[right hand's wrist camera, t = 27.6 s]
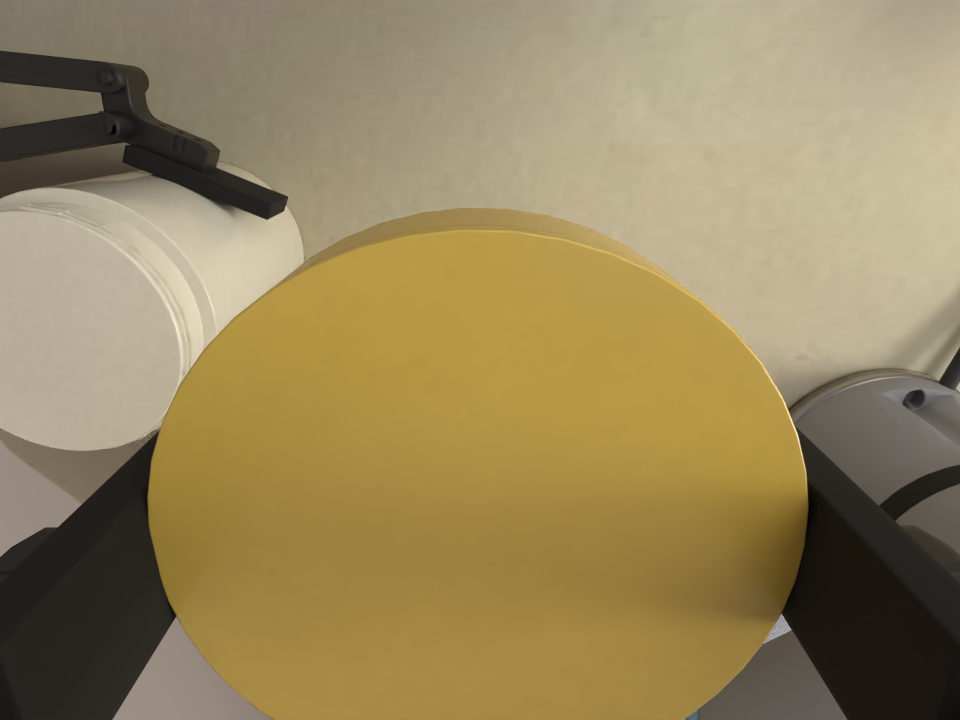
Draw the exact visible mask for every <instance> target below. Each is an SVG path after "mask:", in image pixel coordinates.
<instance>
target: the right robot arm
mask: <svg viewBox="0 0 960 720" xmlns="http://www.w3.org/2000/svg"><path fill="white" fill-rule="evenodd" d="M959 382H960V348H959V350H958V351H957V353H956V355H955V356H954V358H953V359H952V361H951V363H950V364H949V366H948V368H947V369H946V371H945V373H944V374H943V376H942V377H941V379H940V381H939V380H937V379H936V378H933V377H931V376H928V375H926V374H922V373H919V372H915V371H909V370H900V369H880V370H872V371H866V372H861V373H857V374H853V375H850V376H847V377H844V378H841V379H839V380H836V381H834V382H831V383H829V384H827V385H825V386H823V387H821V388H820V389H818V390H816V391H814V392H813V393H811V394H810V395H808V396H807V397H805V398H804V399H802V400H801V401H800V402H799V403H797V404H796V405H795V406H794V407H793V408H792V409H790V410H789V413H790V416H791V418H792V421H793V423H794V426H795V428H796V431H797V433H798V437H799V441H800V446H801V450H802V455H803V459H804V464H805V468H806V474H807V492H808V509H809V510H808V520H807V530H806V540H805V547H804V551H803V555H802V559H801V562H800V566H799V570H798V574H797V578H796V581H795V583H794V586H793V588H792V590H791V593H790V595H789V597H788V600H787V602H786V604H785V607H784V609H783V611H782V615H783V616H784V618H785V620H786V621H787V623H788V625H789V626H790V628H791V629H792V631H790V632H787V633H785V634H783V635H781V636H779V637H777V638H775V639H773V640H771V641H769V642H767V643H765V644H762V645H761V647H760V648H759V649H758V650H757V652H756V653H755V654H754V655H753V657H752V658H751V659H750V661H749V662H748V663H747V664H746V666H745V667H744V668H743V669H742V670H741V671H740V672H739V673H738V674H737V675H736V676H735V677H734V678H733V679H732V680H731V681H730V682H729V683H728V684H727V685H726V686H725V687H724V688H723V689H722V690H721V691H720V692H719V693H718V694H717V695H715V696H714V697H713V698H712V699H710V700H709V701H708V702H706V703H705V704H704V705H703V706H701V707H700V708H699V709H697V710H696V711H695V712H694V713H692V714H691V715H690V716H688V717H687V718H685V719H683V720H960V392H958V391H957V390H955V389H956V387H957V385H958V384H959ZM158 435H159V432H158V433H156V434H155V435H154V436H153V437H152V438H151V439H150V440H149V441H148V442H147V443H146V444H145V445H144V446H143V447H142V448H141V449H140V450H139V451H138V452H137V453H136V454H134V455H133V456H132V457H131V458H130V459H129V460H128V461H127V462H126V463H125V464H124V465H123V466H122V467H121V468H120V469H119V470H118V471H117V472H116V473H115V474H113V475H112V476H111V477H110V478H109V479H108V480H107V481H106V482H105V483H104V484H103V485H102V486H101V487H100V488H99V489H98V490H97V491H96V492H95V493H94V494H93V495H91V496H90V497H89V498H88V499H87V500H86V501H85V502H84V503H83V504H82V505H81V506H80V507H79V508H78V509H77V510H76V511H75V512H74V513H73V514H72V515H70V516H69V517H68V518H67V519H66V520H65V521H64V522H63V523H62V524H61V525H60V526H59V527H58V528H44V529H42V530H41V531H39V532H37V533H35V534H34V535H32V536H30V537H28V538H27V539H25V540H23V541H21V542H20V543H18V544H16V545H14V546H13V547H11V548H10V549H9V550H8V551H7V552H6V553H5V554H3V555H2V556H1V557H0V720H112V719H113V718H114V716H115V714H116V713H117V711H118V710H119V708H120V706H121V705H122V703H123V701H124V700H125V698H126V697H127V695H128V693H129V692H130V690H131V689H132V687H133V685H134V684H135V682H136V680H137V679H138V677H139V676H140V674H141V672H142V671H143V669H144V668H145V666H146V664H147V663H148V661H149V659H150V658H151V656H152V655H153V653H154V651H155V650H156V648H157V647H158V645H159V643H160V642H161V640H162V638H163V637H164V635H165V634H166V632H167V630H168V629H169V627H170V625H171V624H172V622H173V621H174V619H175V617H176V614H175V613H174V611H173V609H172V607H171V605H170V603H169V601H168V599H167V596H166V593H165V591H164V587H163V583H162V580H161V576H160V572H159V567H158V563H157V559H156V555H155V550H154V546H153V542H152V538H151V533H150V528H149V522H148V502H147V496H148V487H149V478H150V469H151V460H152V456H153V452H154V449H155V445H156V442H157V438H158Z"/></svg>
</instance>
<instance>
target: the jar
mask: <svg viewBox="0 0 960 720" xmlns="http://www.w3.org/2000/svg"><path fill="white" fill-rule="evenodd" d="M216 168H219V169H221V170H224V171H226V172H229V173H231V174H233V175H236V176H238V177H241V178H243V179H246V180H248V181H251V182H253V183H256V184H258V185H260V186H263V187H265V188H268V189H270V190H272V189H271V188H270V187H269V186H268V185H267V184H265V183H264V182H263V181H262V180H260V179H259V178H257V177H256V176H254V175H253V174H251V173H249V172H247V171H245V170H243V169H241V168H238V167H236V166H233V165H230V164H226V163H222V162H217V166H216ZM303 263H304V251H303V244H302V239H301V236H300V232H299V229H298V227H297V224H296V222H295V219H294V218H293V216H292V214H291V212H290V211H289V209H288V207H287V206H286V207H285V210H284V212H282V213H280V214H278V215H276V216H274V217H272V218H270V219H268V220H266V219H263V218H261V217H258V216H256V215H253V214H251V213H248V212H246V211H243V210H241V209H238V208H236V207H233V206H231V205H228V204H226V203H223V202H221V201H218V200H216V199H213V198H211V197H208V196H206V195H203V194H201V193H198V192H196V191H193V190H191V189H188V188H186V187H183V186H181V185H178V184H176V183H173V182H171V181H168V180H166V179H163V178H161V177H158V176H156V175H153V174H151V173H148V172H146V171H143V170H138V171H133V172H127V173H121V174H116V175H110V176H104V177H98V178H93V179H87V180H81V181H76V182H70V183H64V184H58V185H53V186H47V187H41V188H36V189H30V190H24V191H19V192H16V193H13V194H10V195H7V196H4V197H2V198H0V428H1V429H3V430H5V431H6V432H8V433H10V434H12V435H14V436H17V437H19V438H22V439H24V440H27V441H29V442H32V443H35V444H39V445H42V446H46V447H50V448H56V449H61V450H72V451H94V450H101V449H108V448H116V447H119V446H122V445H125V444H127V443H130V442H133V441H136V440H138V439H142V438H143V437H144V436H146V435H147V434H148V433H150V432H151V431H153V430H156V429H158V428H160V427H161V424H162V421H163V419H164V417H165V415H166V412H167V410H168V408H169V406H170V404H171V402H172V400H173V398H174V395H175V393H176V391H177V389H178V387H179V385H180V383H181V382H182V381H183V379H184V378H185V376H186V375H187V373H188V372H189V370H190V369H191V367H192V366H193V364H194V363H195V361H196V360H197V358H198V357H199V356H200V354H201V353H202V351H203V350H204V349H205V348H206V347H207V346H208V345H209V343H210V342H211V341H212V340H213V339H214V338H215V337H216V336H217V335H218V334H219V333H220V332H221V331H222V330H223V329H224V328H225V326H226V325H227V324H228V323H229V322H230V321H231V320H232V319H233V318H234V317H235V316H237V315H238V314H239V313H240V312H242V311H243V310H244V309H246V308H247V307H248V306H249V305H251V304H252V303H253V302H254V301H256V300H257V299H258V298H260V297H261V296H262V295H263V294H265V293H266V292H267V291H268V290H270V289H271V288H272V287H274V286H275V285H276V284H277V283H279V282H280V281H281V280H282V279H284V278H285V277H286V276H288V275H289V274H290V273H291V272H293V271H294V270H295V269H297V268H298V267H299V266H300V265H302V264H303Z"/></svg>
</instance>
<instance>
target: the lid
mask: <svg viewBox="0 0 960 720" xmlns="http://www.w3.org/2000/svg"><path fill="white" fill-rule="evenodd" d="M147 502H148V522H149V528H150V533H151V538H152V542H153V546H154V550H155V555H156V559H157V563H158V567H159V572H160V576H161V580H162V583H163V587H164V591H165V593H166V596H167V599H168V601H169V603H170V605H171V607H172V609H173V611H174V613H175V614H176V616H177V618H178V620H179V622H180V624H181V625H182V627H183V629H184V631H185V633H186V634H187V635H188V637H189V638H190V640H191V641H192V642H193V644H194V645H195V646H196V648H197V649H198V651H199V652H200V653H201V655H202V656H203V657H204V659H205V660H206V661H207V662H208V663H209V665H210V666H211V667H212V668H213V669H214V670H215V671H216V672H217V673H218V674H219V675H220V676H221V677H222V678H223V679H224V680H225V681H226V683H227V684H228V685H229V686H230V687H232V688H233V689H234V690H235V691H236V692H237V693H239V694H240V695H241V696H242V697H243V698H245V699H246V700H247V701H248V702H249V703H251V704H252V705H253V706H254V707H255V708H257V709H258V710H259V711H261V712H262V713H264V714H265V715H267V716H268V717H270V718H271V719H273V720H683V719H685V718H687V717H688V716H690V715H691V714H692V713H694V712H695V711H696V710H697V709H699V708H700V707H701V706H703V705H704V704H705V703H706V702H708V701H709V700H710V699H712V698H713V697H714V696H715V695H717V694H718V693H719V692H720V691H721V690H722V689H723V688H724V687H725V686H726V685H727V684H728V683H729V682H730V681H731V680H732V679H733V678H734V677H735V676H736V675H737V674H738V673H739V672H740V671H741V670H742V669H743V668H744V667H745V666H746V664H747V663H748V662H749V661H750V659H751V658H752V657H753V655H754V654H755V653H756V652H757V650H758V649H759V648H760V647H761V645H762V644H763V643H764V642H765V640H766V638H767V637H768V635H769V633H770V632H771V630H772V628H773V627H774V625H775V623H776V622H777V620H778V618H779V617H780V615H781V613H782V611H783V609H784V607H785V604H786V602H787V600H788V597H789V595H790V593H791V590H792V588H793V586H794V583H795V581H796V578H797V574H798V570H799V566H800V562H801V559H802V555H803V551H804V547H805V540H806V530H807V520H808V510H809V509H808V492H807V474H806V468H805V464H804V459H803V455H802V450H801V446H800V441H799V437H798V433H797V431H796V428H795V426H794V423H793V421H792V418H791V416H790V413H789V411H788V409H787V406H786V404H785V401H784V399H783V397H782V395H781V393H780V392H779V390H778V388H777V387H776V385H775V383H774V382H773V380H772V378H771V377H770V375H769V373H768V372H767V370H766V369H765V367H764V365H763V364H762V362H761V361H760V360H759V358H758V357H757V356H756V355H755V354H754V352H753V351H752V350H751V349H750V348H749V347H748V345H747V344H746V343H745V342H744V341H743V339H742V338H741V337H740V336H739V335H738V334H737V332H736V331H735V330H734V329H733V328H732V327H731V326H730V325H729V324H727V323H726V322H725V321H724V320H723V319H722V318H721V317H719V316H718V315H717V314H716V313H715V312H714V311H712V310H711V309H710V308H709V307H708V306H707V305H706V304H704V303H703V302H702V301H701V300H700V299H699V298H697V297H696V296H695V295H694V294H692V293H691V292H690V291H689V290H687V289H686V288H685V287H683V286H682V285H681V284H680V283H678V282H677V281H676V280H675V279H673V278H672V277H671V276H670V275H668V274H667V273H666V272H664V271H663V270H662V269H661V268H659V267H658V266H657V265H655V264H654V263H652V262H651V261H649V260H648V259H646V258H644V257H643V256H641V255H640V254H638V253H637V252H635V251H634V250H632V249H630V248H629V247H627V246H626V245H624V244H622V243H620V242H618V241H616V240H613V239H611V238H609V237H607V236H605V235H603V234H600V233H598V232H596V231H594V230H592V229H589V228H587V227H584V226H581V225H577V224H574V223H571V222H567V221H564V220H561V219H557V218H554V217H551V216H547V215H541V214H535V213H528V212H522V211H516V210H509V209H485V208H460V209H451V210H442V211H433V212H424V213H419V214H415V215H411V216H407V217H403V218H399V219H395V220H391V221H387V222H383V223H380V224H378V225H376V226H373V227H371V228H368V229H366V230H363V231H361V232H358V233H356V234H353V235H351V236H348V237H346V238H344V239H342V240H340V241H338V242H337V243H335V244H333V245H331V246H330V247H328V248H326V249H325V250H323V251H321V252H319V253H318V254H316V255H314V256H312V257H311V258H309V259H308V260H307V261H305V262H304V263H303V264H302V265H300V266H299V267H298V268H297V269H295V270H294V271H293V272H291V273H290V274H289V275H288V276H286V277H285V278H284V279H282V280H281V281H280V282H279V283H277V284H276V285H275V286H274V287H272V288H271V289H270V290H268V291H267V292H266V293H265V294H263V295H262V296H261V297H260V298H258V299H257V300H256V301H254V302H253V303H252V304H251V305H249V306H248V307H247V308H246V309H244V310H243V311H242V312H240V313H239V314H238V315H237V316H235V317H234V318H233V319H232V320H231V321H230V322H229V323H228V324H227V325H226V326H225V328H224V329H223V330H222V331H221V332H220V333H219V334H218V335H217V336H216V337H215V338H214V339H213V340H212V341H211V342H210V343H209V345H208V346H207V347H206V348H205V349H204V350H203V351H202V353H201V354H200V356H199V357H198V358H197V360H196V361H195V363H194V364H193V366H192V367H191V369H190V370H189V372H188V373H187V375H186V376H185V378H184V379H183V381H182V382H181V383H180V385H179V387H178V389H177V391H176V393H175V395H174V398H173V400H172V402H171V404H170V406H169V408H168V410H167V412H166V415H165V417H164V419H163V421H162V424H161V428H160V431H159V435H158V438H157V442H156V445H155V449H154V452H153V456H152V460H151V469H150V478H149V487H148V496H147Z"/></svg>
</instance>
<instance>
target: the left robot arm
mask: <svg viewBox="0 0 960 720" xmlns="http://www.w3.org/2000/svg"><path fill="white" fill-rule="evenodd" d="M0 82H5V83H14V84H24V85H34V86H43V87H53V88H62V89H72V90H81V91H91V92H100V93H101V96H102V102H103V107H104V111H99V113H96V114H90V115H83V116H77V117H71V118H64V119H58V120H52V121H45V122H39V123H33V124H26V125H20V126H14V127H7V128H1V129H0V162H3V161H10V160H16V159H22V158H26V157H33V156H39V155H46V154H52V153H58V152H65V151H71V150H78V149H84V148H90V147H97V146H103V145H110V144H116V143H123V142H125V143H128V144H130V145H126V146H125V151H124V156H123V161H122V162H123V163H126V164H128V165H131V166H133V167H136V168H138V169H141V170H143V171H146V172H148V173H151V174H153V175H156V176H158V177H161V178H163V179H166V180H168V181H171V182H173V183H176V184H178V185H181V186H183V187H186V188H188V189H191V190H193V191H196V192H198V193H201V194H203V195H206V196H208V197H211V198H213V199H216V200H218V201H221V202H223V203H226V204H228V205H231V206H233V207H236V208H238V209H241V210H243V211H246V212H248V213H251V214H253V215H256V216H258V217H261V218H263V219H266V220H268V219H270V218H272V217H274V216H276V215H278V214H280V213H282V212H284V210H285V207H286V203H287V200H288V197H287V196H285V195H283V194H280V193H278V192H275V191H273V190H270V189H268V188H265V187H263V186H260V185H258V184H256V183H253V182H251V181H248V180H246V179H243V178H241V177H238V176H236V175H233V174H231V173H229V172H226V171H224V170H221V169H219V168H216V166H217V162H218V158H219V154H220V150H219V149H218V148H217V147H216V146H215V145H213V144H212V143H211V142H209V141H207V140H204V139H202V138H200V137H197V136H195V135H192V134H189V133H187V132H185V131H183V130H180V129H178V128H175V127H173V126H171V125H168V124H166V123H163V122H161V121H159V120H157V119H156V118H155V117H154V116H153V115H152V114H151V113H150V111H149V109H148V107H147V103H146V96H145V92H146V91H147V89H148V86H149V81H148V77H147V75H146V74H145V72H144V71H143V70H141V69H140V68H138V67H135V66H129V65H122V64H115V63H108V62H99V61H90V60H81V59H71V58H62V57H53V56H44V55H34V54H25V53H16V52H6V51H0Z"/></svg>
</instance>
